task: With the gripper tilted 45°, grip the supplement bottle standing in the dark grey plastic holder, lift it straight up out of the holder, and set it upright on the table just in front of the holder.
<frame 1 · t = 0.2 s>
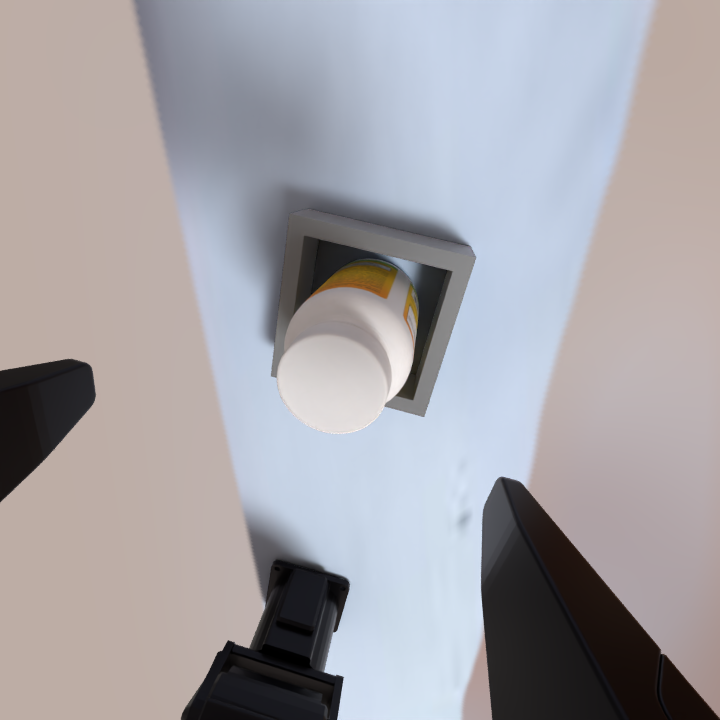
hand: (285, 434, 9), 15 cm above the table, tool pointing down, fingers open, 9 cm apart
supplement bottle: (371, 304, 23), resting in holder
holder: (371, 305, 23), on the table
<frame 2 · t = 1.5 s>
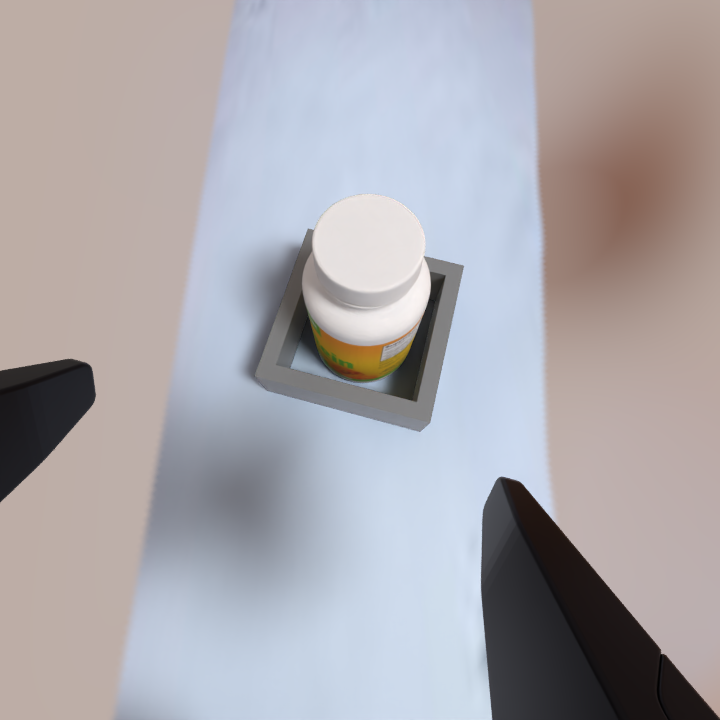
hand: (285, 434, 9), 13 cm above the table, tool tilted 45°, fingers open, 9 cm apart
supplement bottle: (363, 340, 23), resting in holder
holder: (363, 339, 23), on the table
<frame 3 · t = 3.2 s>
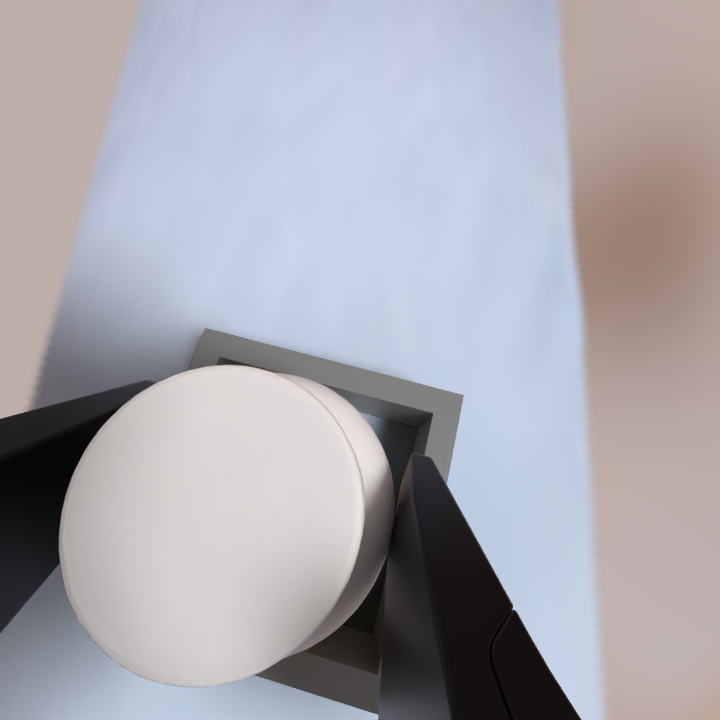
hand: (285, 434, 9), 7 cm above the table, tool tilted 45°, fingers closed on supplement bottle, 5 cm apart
supplement bottle: (303, 496, 15), resting in holder, touching gripper
holder: (302, 496, 14), on the table
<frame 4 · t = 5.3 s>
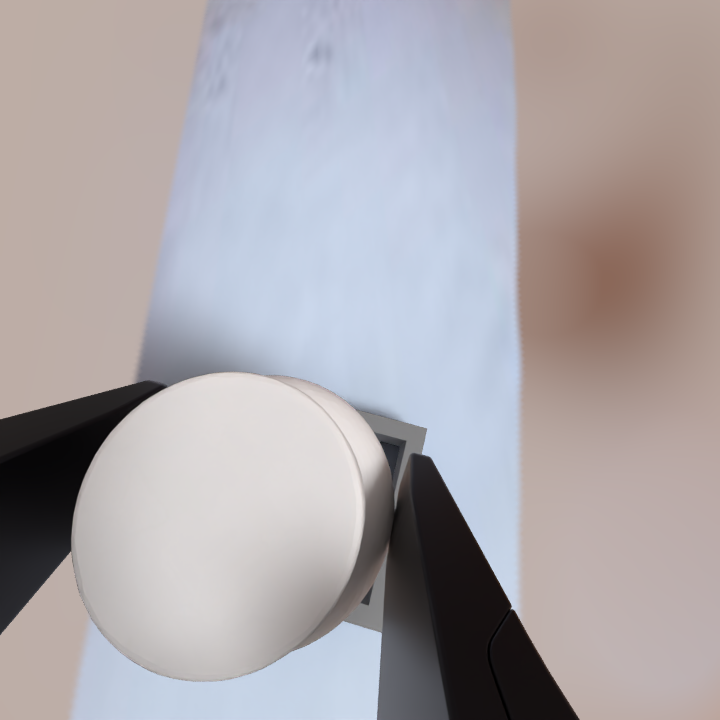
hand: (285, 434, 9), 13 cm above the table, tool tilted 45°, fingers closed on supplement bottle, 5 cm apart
supplement bottle: (305, 493, 15), point 6 cm above the table, touching gripper
holder: (318, 495, 21), on the table
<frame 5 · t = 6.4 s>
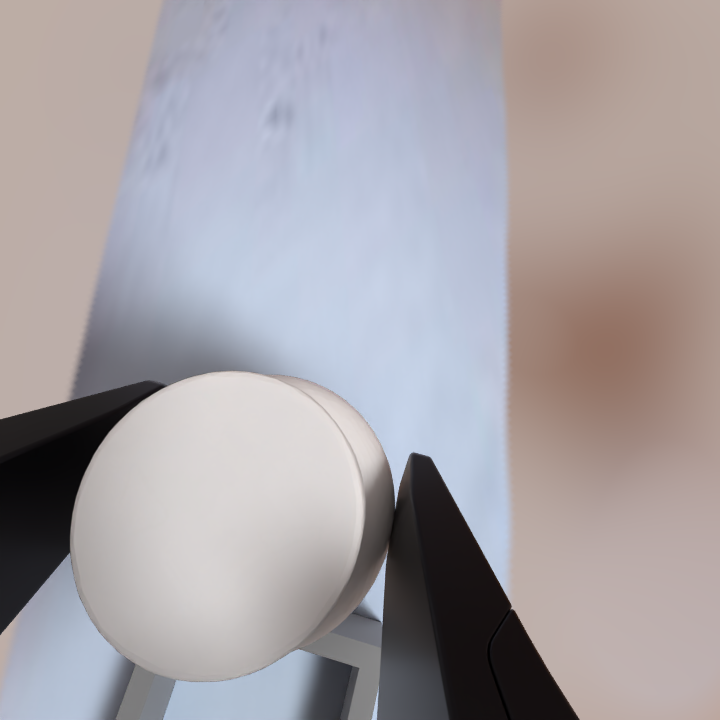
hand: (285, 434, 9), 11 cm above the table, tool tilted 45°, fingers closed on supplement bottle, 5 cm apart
supplement bottle: (305, 493, 15), point 4 cm above the table, touching gripper
holder: (254, 707, 17), on the table
when the fingers open (8 cm above the table, at t = 7.4 s): supplement bottle stays where it is, on the table.
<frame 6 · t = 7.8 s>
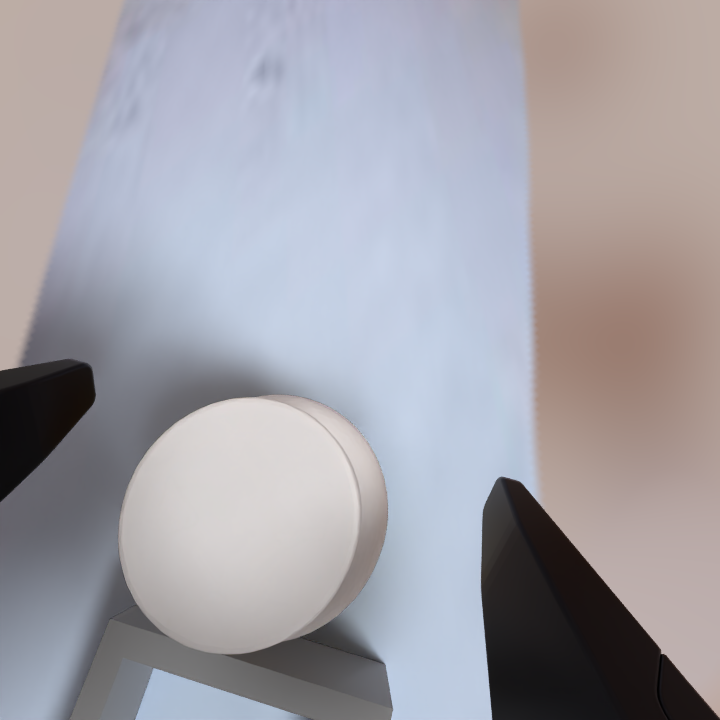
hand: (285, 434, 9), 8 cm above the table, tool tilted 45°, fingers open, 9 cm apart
supplement bottle: (307, 499, 16), on the table
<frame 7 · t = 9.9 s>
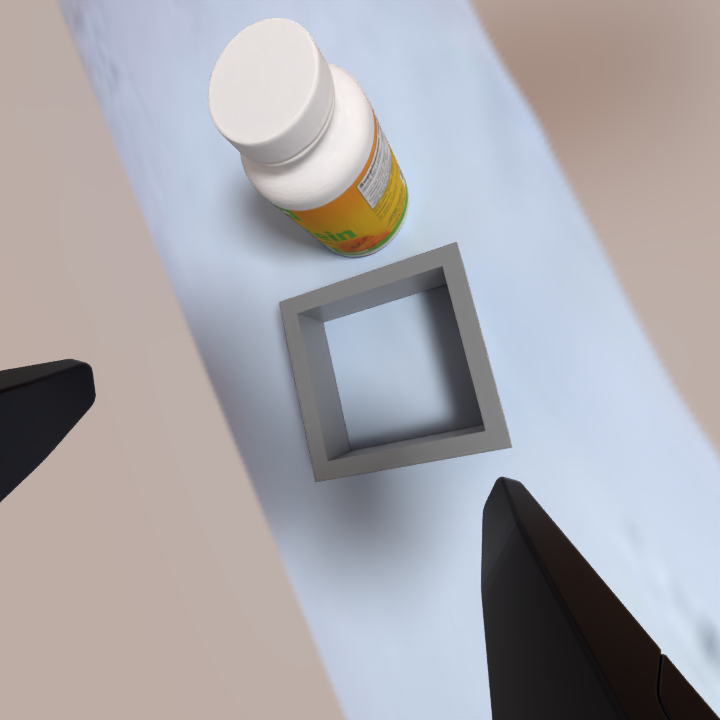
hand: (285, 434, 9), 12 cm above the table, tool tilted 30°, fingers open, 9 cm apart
supplement bottle: (362, 211, 22), on the table
holder: (399, 369, 20), on the table
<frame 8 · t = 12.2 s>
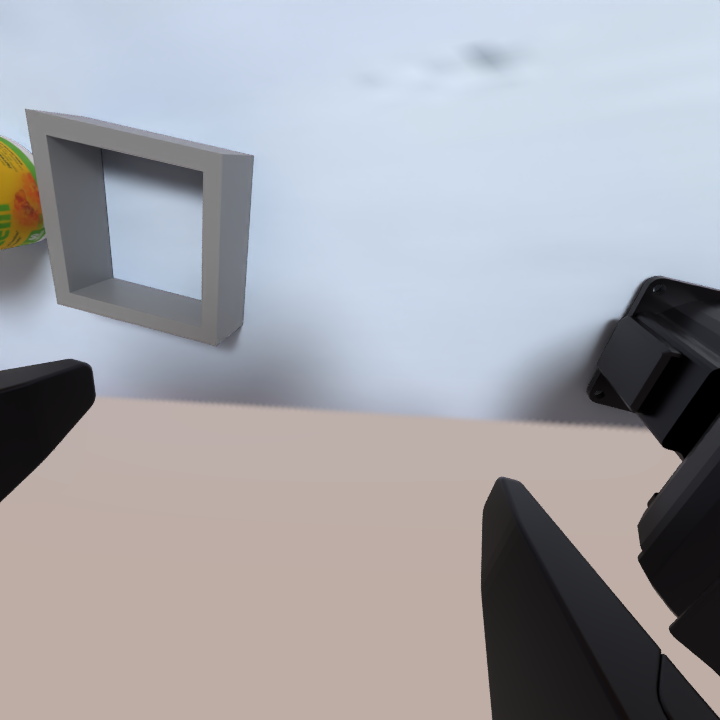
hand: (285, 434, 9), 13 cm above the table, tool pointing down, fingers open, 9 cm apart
supplement bottle: (19, 190, 22), on the table
holder: (169, 228, 21), on the table
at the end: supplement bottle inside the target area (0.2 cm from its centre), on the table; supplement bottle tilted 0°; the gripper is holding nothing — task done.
